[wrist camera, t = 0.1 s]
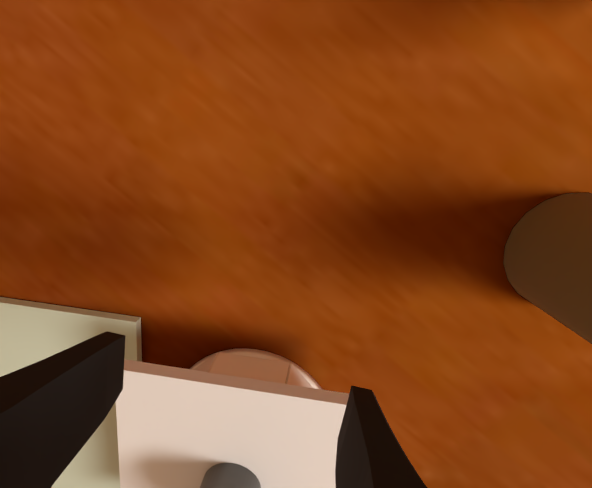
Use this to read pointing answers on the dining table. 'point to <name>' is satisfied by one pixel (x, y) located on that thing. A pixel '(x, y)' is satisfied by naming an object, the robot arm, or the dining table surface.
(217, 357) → the bowl
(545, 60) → the dining table surface
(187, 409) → the cover
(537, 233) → the olive brown shaker
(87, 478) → the mat
